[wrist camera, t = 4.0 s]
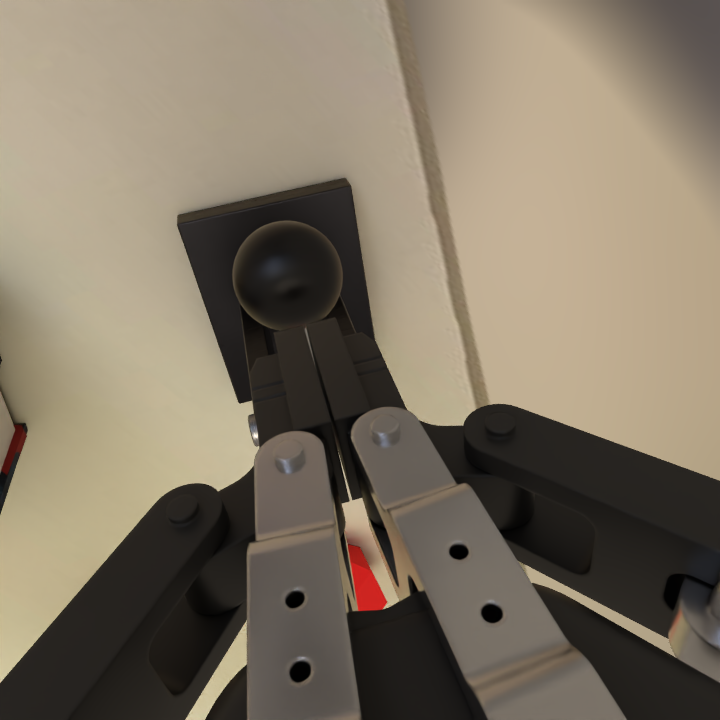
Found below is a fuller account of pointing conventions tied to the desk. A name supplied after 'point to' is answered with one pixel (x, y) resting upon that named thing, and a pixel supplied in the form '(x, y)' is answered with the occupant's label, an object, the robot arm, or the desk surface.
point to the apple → (365, 582)
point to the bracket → (220, 246)
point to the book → (9, 448)
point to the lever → (287, 275)
